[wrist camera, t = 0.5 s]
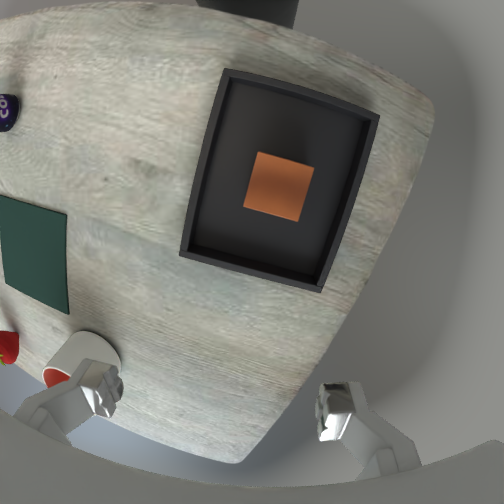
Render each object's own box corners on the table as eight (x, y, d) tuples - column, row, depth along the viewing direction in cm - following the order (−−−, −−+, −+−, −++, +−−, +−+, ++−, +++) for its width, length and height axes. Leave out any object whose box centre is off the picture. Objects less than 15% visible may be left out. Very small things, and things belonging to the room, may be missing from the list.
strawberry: (5, 313, 39) (-25, 339, 30) (29, 334, 40) (0, 364, 31) (6, 332, 41) (-21, 358, 32) (30, 352, 42) (4, 381, 33)
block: (259, 151, 28) (257, 151, 23) (306, 164, 28) (314, 167, 23) (246, 197, 30) (242, 206, 25) (293, 210, 30) (297, 222, 25)
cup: (130, 350, 38) (103, 396, 29) (117, 383, 42) (95, 425, 32) (76, 316, 37) (41, 354, 28) (70, 354, 40) (42, 390, 31)
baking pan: (228, 75, 26) (224, 67, 23) (370, 118, 26) (380, 115, 23) (185, 246, 32) (178, 256, 30) (316, 281, 33) (320, 293, 30)
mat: (0, 194, 31) (-1, 195, 31) (67, 214, 32) (65, 215, 31) (6, 282, 36) (5, 283, 36) (69, 313, 37) (68, 315, 37)
